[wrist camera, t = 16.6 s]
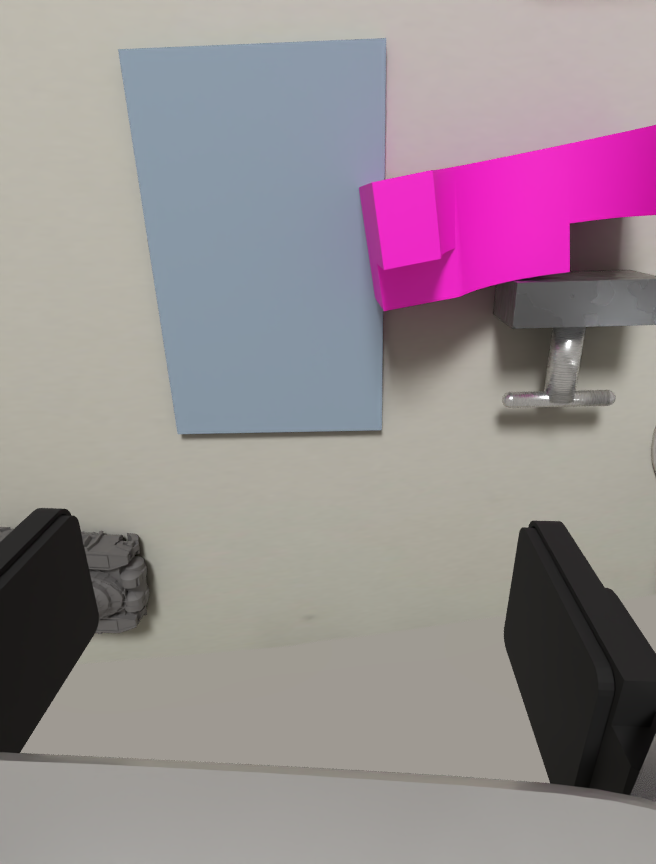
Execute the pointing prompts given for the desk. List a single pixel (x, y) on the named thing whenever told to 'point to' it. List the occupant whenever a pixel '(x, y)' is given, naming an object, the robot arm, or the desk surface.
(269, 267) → the rubber mat
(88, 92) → the desk surface
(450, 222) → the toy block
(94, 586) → the tank toy
